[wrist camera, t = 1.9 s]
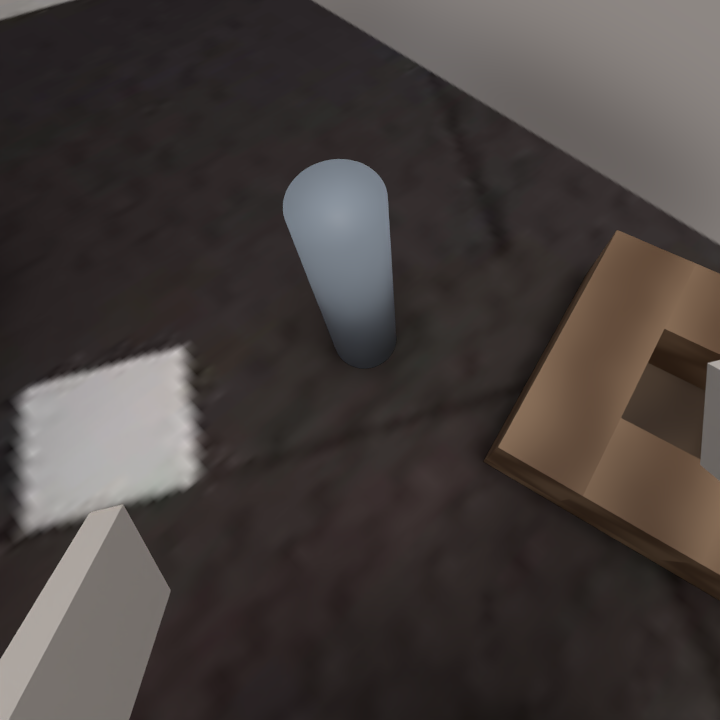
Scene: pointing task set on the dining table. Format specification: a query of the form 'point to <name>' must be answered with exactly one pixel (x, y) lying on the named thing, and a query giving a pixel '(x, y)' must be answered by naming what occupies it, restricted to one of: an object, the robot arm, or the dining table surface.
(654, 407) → the bore block
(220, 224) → the dining table surface
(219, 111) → the dining table surface
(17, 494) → the dining table surface
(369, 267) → the dowel
